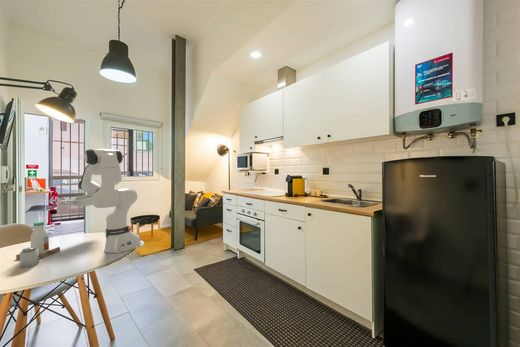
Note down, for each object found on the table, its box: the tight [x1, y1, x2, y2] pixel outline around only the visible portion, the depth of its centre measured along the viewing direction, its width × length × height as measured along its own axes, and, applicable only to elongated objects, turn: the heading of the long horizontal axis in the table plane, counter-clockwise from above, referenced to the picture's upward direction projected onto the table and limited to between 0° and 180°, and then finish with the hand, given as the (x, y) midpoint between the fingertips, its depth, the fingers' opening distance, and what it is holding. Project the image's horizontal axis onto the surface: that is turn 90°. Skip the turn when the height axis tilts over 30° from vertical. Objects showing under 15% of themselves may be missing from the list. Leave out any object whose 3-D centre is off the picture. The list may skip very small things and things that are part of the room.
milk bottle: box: [30, 221, 50, 254], centre depth 131 cm, size 8×8×20 cm
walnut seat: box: [15, 246, 61, 260], centre depth 130 cm, size 12×14×2 cm
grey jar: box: [19, 246, 40, 269], centre depth 117 cm, size 7×7×9 cm
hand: (64, 204), depth 147 cm, fingers closed
